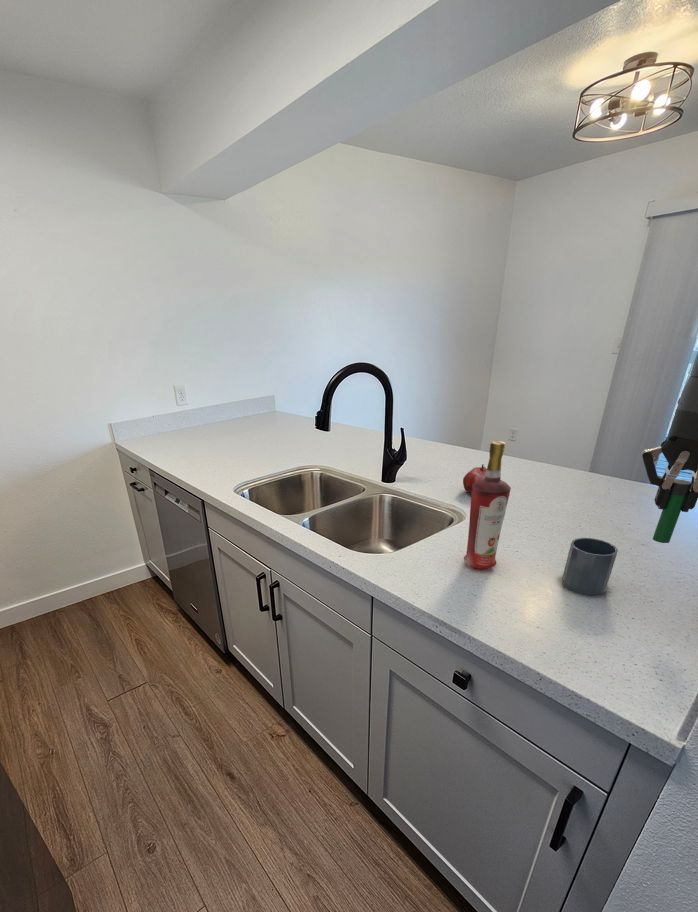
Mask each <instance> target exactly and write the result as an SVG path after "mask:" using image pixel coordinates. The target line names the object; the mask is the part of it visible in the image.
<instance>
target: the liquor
mask: <svg viewBox="0 0 698 912" xmlns="http://www.w3.org/2000/svg"><path fill="white" fill-rule="evenodd" d="M489 446H490V447H489V458H488V462H487V466H486V469H487V471H486V475H485V479H481V480H479V481H477V482H475V483H474V484H473V485H472V493H471V498H470V506H469V522H468V523H469V524H468V534H467V545H466V553H465V555H464V557H463V561H464V563H465V564H467V566H468V567H469V568H471V569H473V570H476V571H487V570H489V569H492V568H493V567H495V566H496V565H497V564H498V563H497V558H496V557H497V550H498V545H499V541H500V536H501V532H502V528H503V523H504V520H505V516H506V511H507V507H508V504H509V503H508V502H509V497H510V493H511V489H512V487H511V486H510V485H509V484H508V483H507V482H506V481H505V480H502V479H501V477H502V460H503V459H502V458H503V456H504V454H505V448H506V442H505V441H500V440H493V441H491V442H490V445H489Z"/></svg>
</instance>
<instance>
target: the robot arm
mask: <svg viewBox="0 0 698 912" xmlns="http://www.w3.org/2000/svg"><path fill="white" fill-rule="evenodd" d="M690 369H691V370H690V372H689V376H688V378H687V380H686V383H685V385H684V386H683V389H682V391H681V394H680V396H679V398H678V400H677V406H676V409H675V412H674V415H673V418H672V422H671V425H670V427H669V430H668V434H667V437H666V438H665V440H664V441H662V442H661V444H660V445H659V446H657V447H652V448H650V449H649V448H642V449H641V451H640V455H641V459H642V462H643V465H644V469H645V472H646V476H647V479H648V481H649V483H650V484H651V485H655V486H657V490H656V494H655V498H654V499H653V501H654V504H655V506H657V509H658V510H664V508H665V506H666V503H667V500H668V497H669V494H670V491H671V490H670V487H671V486H672V484H673V482H674V480H676V479H677V478H678V477H679V474H680V473H681V472H682V471H691V478H690V482H691V483H692V484H691V487H690V490H689V492H688V495H687V496H686V498H685V501H684V504H683V506H682V509H681V512H682V513H689V511H690V510H693V509H695V507H696V505H697V503H698V351H697V352H696V354H695V358H694V360H693V364H692V367H691V368H690ZM660 454H662V455H663V456H664V458H665V460H666V462H667V465H666V467H665V468H664V472H663V474H662V476H659V475H658V472H657V468H656V465H655V462H657V461H658V460H659V456H660Z"/></svg>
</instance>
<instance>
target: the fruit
mask: <svg viewBox="0 0 698 912" xmlns="http://www.w3.org/2000/svg"><path fill="white" fill-rule="evenodd" d="M486 471H487V467H485V466H484V463H483V464H482V465H481V466H479V467H477V466H476V467H473V468H472V469H471V470H469V471H468V472H467V473H466V474H465V475H464V477H463V478H462V485H463V489H464V490H465V491H466V492H467V493H470V494H472V485H473V484H474V483H475V482H477V481H479V480H481V479H485V475H486Z"/></svg>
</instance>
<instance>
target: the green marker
mask: <svg viewBox="0 0 698 912" xmlns="http://www.w3.org/2000/svg"><path fill="white" fill-rule="evenodd" d="M691 484H692V483H691V481H689V480H686V479H675V480H674V482H673V484H672V486H671V487H670V490H671V491H670V494H669V497H668V500H667V503H666V506H665V508H664V510H663V509H661V512H660V516H659V519H658V522H657V524H656V528H655V531H654V533H653V536H652V540H653V541H655V542H657V543H661V544H669V543H670V542H671V539H672V536H673V534H674V531H675V528H676V526H677V523H678V520H679V518H680V514H681V512H682V511H681V509H682V506H683V504H684V501H685V498H686V496H687V495H688V492H689V490H690V487H691Z"/></svg>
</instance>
